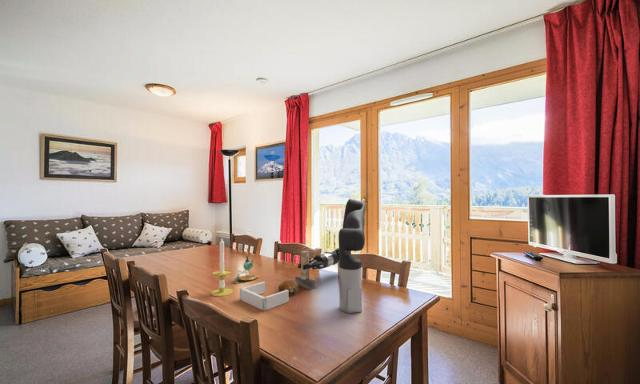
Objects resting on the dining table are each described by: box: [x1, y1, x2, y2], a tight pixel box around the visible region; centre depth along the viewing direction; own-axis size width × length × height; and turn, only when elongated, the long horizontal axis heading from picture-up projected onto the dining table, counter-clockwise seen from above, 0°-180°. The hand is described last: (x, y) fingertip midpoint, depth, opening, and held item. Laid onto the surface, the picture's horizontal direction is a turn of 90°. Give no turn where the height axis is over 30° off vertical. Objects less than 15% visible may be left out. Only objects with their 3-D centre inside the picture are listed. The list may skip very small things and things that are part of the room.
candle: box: [210, 237, 233, 297], centre depth 135 cm, size 10×10×27 cm
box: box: [239, 281, 290, 312], centre depth 125 cm, size 13×18×5 cm
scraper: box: [294, 250, 316, 290], centre depth 144 cm, size 3×12×18 cm, turn 47°
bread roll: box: [277, 278, 300, 297], centre depth 136 cm, size 10×10×8 cm
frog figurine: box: [233, 254, 261, 285], centre depth 157 cm, size 10×18×15 cm, turn 133°
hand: (300, 267), depth 142 cm, fingers closed on scraper, 3 cm apart
